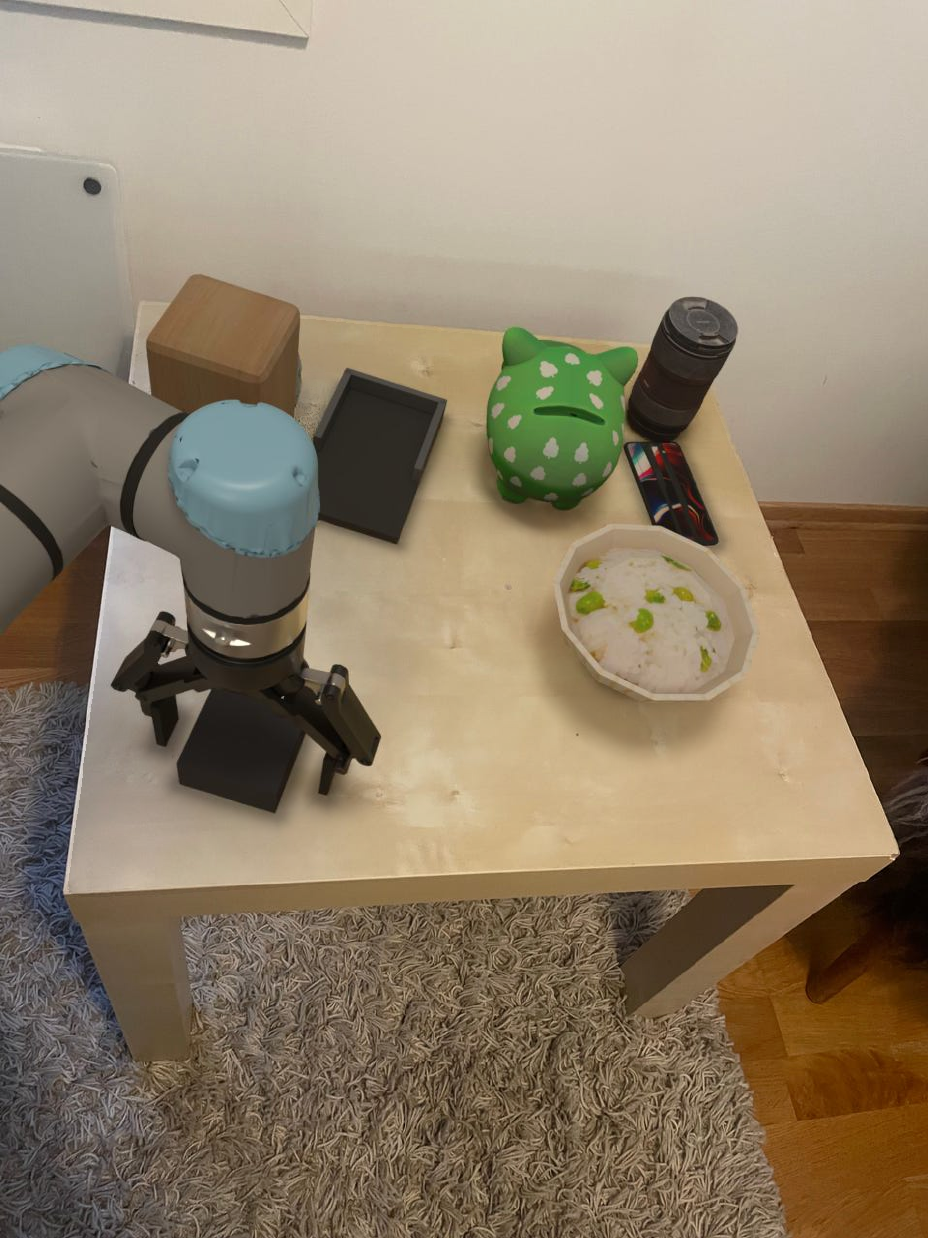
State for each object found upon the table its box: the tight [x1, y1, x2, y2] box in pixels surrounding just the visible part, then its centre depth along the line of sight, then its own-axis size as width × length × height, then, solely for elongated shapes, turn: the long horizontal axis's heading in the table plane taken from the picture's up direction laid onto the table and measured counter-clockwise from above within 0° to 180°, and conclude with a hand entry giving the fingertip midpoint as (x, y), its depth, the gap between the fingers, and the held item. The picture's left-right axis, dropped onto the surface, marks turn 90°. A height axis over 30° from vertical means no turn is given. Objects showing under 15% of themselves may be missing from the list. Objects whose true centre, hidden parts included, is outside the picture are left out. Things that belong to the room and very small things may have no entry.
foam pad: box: [176, 688, 307, 814], centre depth 75 cm, size 8×8×4 cm
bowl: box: [552, 523, 761, 703], centre depth 85 cm, size 19×19×10 cm
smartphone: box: [622, 440, 719, 547], centre depth 103 cm, size 7×1×15 cm
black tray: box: [312, 367, 448, 544], centre depth 96 cm, size 19×11×3 cm, turn 166°
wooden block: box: [145, 273, 301, 419], centre depth 83 cm, size 10×10×20 cm
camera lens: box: [626, 296, 739, 442], centre depth 103 cm, size 8×8×15 cm
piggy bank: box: [485, 326, 639, 511], centre depth 95 cm, size 14×18×15 cm
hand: (247, 756), depth 76 cm, fingers open, 13 cm apart
